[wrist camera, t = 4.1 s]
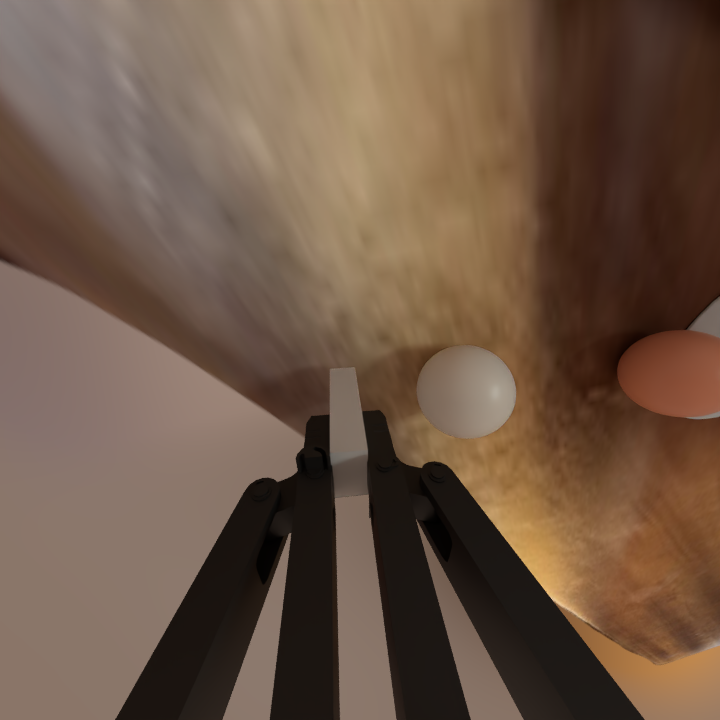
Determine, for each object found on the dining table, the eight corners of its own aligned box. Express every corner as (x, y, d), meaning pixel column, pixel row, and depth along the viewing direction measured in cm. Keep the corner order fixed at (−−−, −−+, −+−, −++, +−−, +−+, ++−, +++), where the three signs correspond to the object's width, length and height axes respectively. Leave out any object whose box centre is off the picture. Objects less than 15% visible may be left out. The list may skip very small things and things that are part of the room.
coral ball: (688, 315, 19) (810, 351, 14) (650, 382, 22) (743, 432, 17) (614, 320, 19) (714, 358, 14) (585, 388, 21) (660, 440, 16)
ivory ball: (492, 327, 18) (553, 371, 13) (477, 397, 21) (523, 454, 16) (409, 333, 18) (440, 380, 13) (404, 403, 20) (429, 464, 15)
